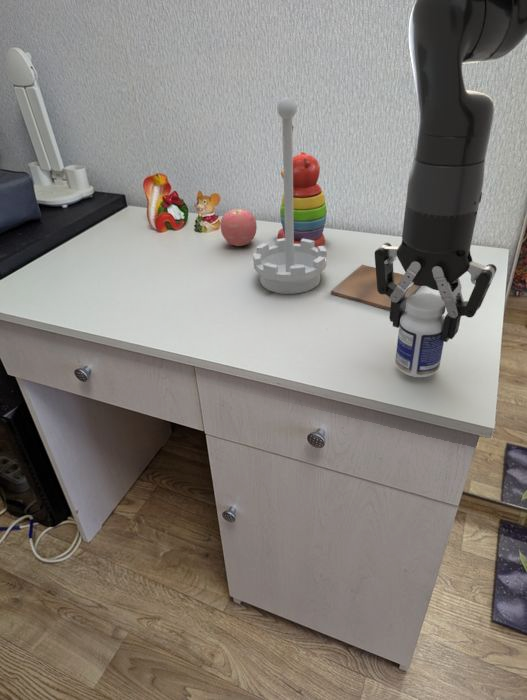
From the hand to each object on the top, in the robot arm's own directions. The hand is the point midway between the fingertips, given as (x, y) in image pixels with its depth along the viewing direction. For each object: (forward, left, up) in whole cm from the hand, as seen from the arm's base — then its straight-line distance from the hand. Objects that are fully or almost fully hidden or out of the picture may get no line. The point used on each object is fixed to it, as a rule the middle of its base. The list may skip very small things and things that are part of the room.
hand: (421, 331), depth 63 cm
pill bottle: (0, 0, -6) cm, 6 cm away
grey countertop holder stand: (+29, -14, -7) cm, 33 cm away
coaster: (+14, -19, -7) cm, 25 cm away
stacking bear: (+36, -29, -7) cm, 47 cm away
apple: (+47, -22, -7) cm, 53 cm away
